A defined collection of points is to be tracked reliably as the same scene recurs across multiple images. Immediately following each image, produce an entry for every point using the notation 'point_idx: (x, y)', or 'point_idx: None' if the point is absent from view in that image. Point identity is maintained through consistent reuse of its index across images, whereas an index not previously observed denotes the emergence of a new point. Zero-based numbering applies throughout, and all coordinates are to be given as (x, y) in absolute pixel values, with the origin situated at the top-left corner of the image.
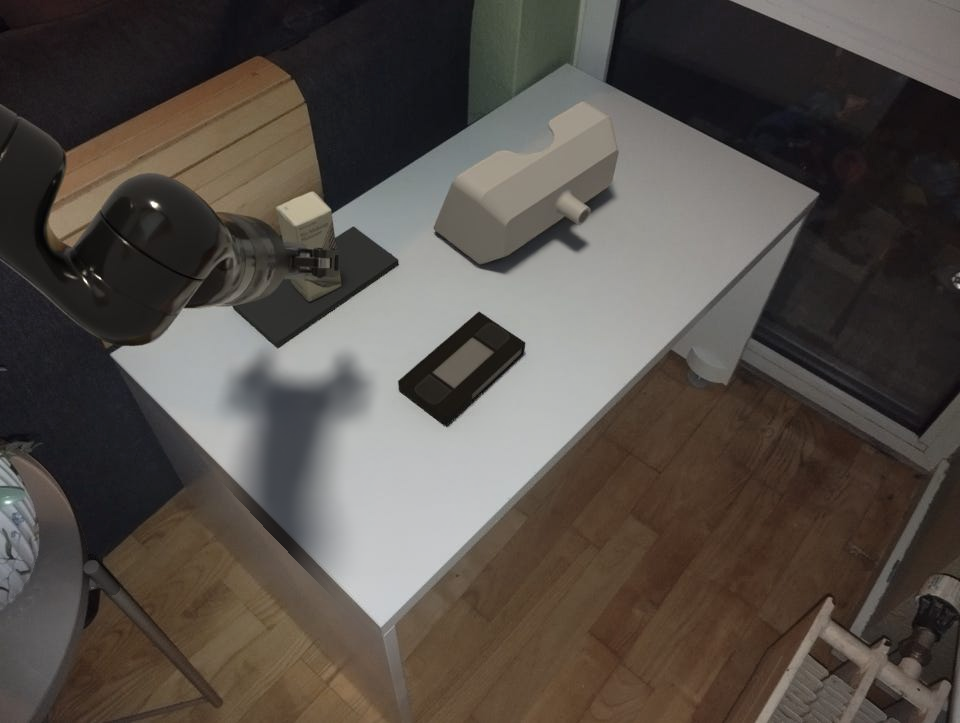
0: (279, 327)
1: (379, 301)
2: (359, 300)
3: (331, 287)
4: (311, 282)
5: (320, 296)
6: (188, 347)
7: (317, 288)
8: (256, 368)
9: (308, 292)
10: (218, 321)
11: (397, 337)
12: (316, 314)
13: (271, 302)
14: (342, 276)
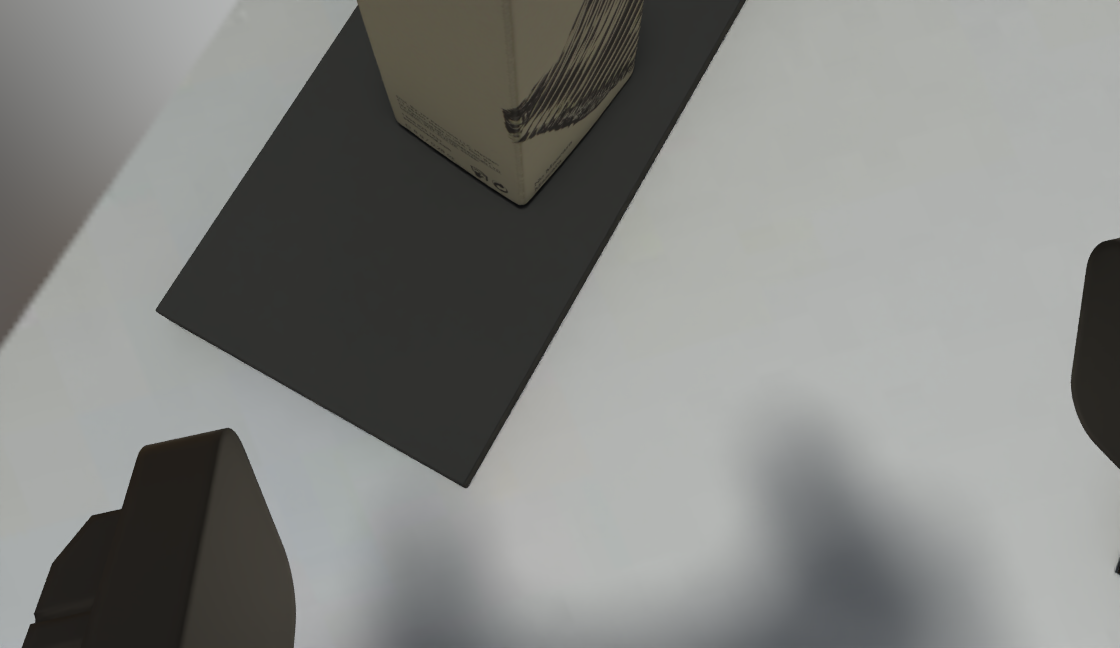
0: (440, 388)
1: (814, 98)
2: (724, 116)
3: (604, 102)
4: (541, 133)
5: (563, 160)
6: None
7: (559, 141)
8: (413, 631)
9: (526, 178)
10: (127, 410)
11: (978, 274)
12: (582, 263)
13: (343, 252)
14: None
